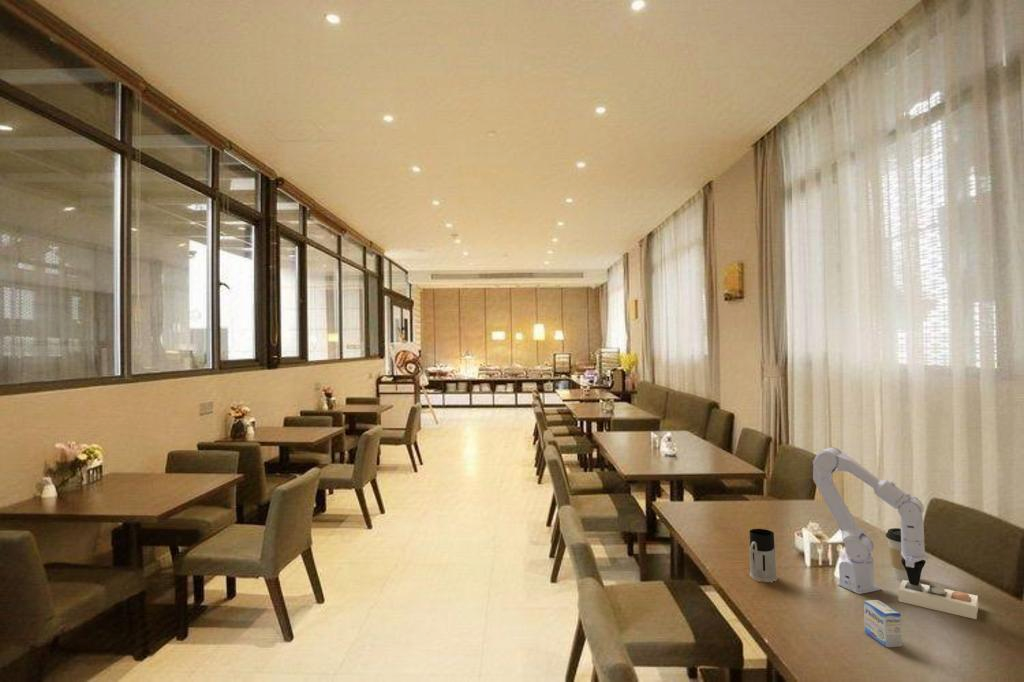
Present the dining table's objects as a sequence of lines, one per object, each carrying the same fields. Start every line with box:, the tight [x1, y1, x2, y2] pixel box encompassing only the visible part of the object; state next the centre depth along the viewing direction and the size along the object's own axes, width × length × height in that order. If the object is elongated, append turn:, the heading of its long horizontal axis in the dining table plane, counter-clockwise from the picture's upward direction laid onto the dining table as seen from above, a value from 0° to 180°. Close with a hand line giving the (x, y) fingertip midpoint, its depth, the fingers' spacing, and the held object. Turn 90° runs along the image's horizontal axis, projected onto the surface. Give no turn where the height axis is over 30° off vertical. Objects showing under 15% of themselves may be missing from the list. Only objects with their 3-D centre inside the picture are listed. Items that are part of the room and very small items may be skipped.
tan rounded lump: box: [953, 590, 969, 602], centre depth 161 cm, size 4×4×3 cm
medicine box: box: [863, 599, 903, 649], centre depth 147 cm, size 8×4×9 cm, turn 5°
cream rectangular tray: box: [897, 580, 979, 620], centre depth 165 cm, size 18×9×4 cm, turn 48°
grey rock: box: [929, 582, 946, 597], centre depth 165 cm, size 4×4×3 cm
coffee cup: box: [885, 527, 909, 582], centre depth 184 cm, size 10×10×15 cm
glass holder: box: [749, 528, 778, 583], centre depth 186 cm, size 9×14×15 cm, turn 137°
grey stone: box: [907, 582, 922, 592], centre depth 169 cm, size 4×4×3 cm
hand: (914, 584), depth 169 cm, fingers closed, pressing on grey stone
